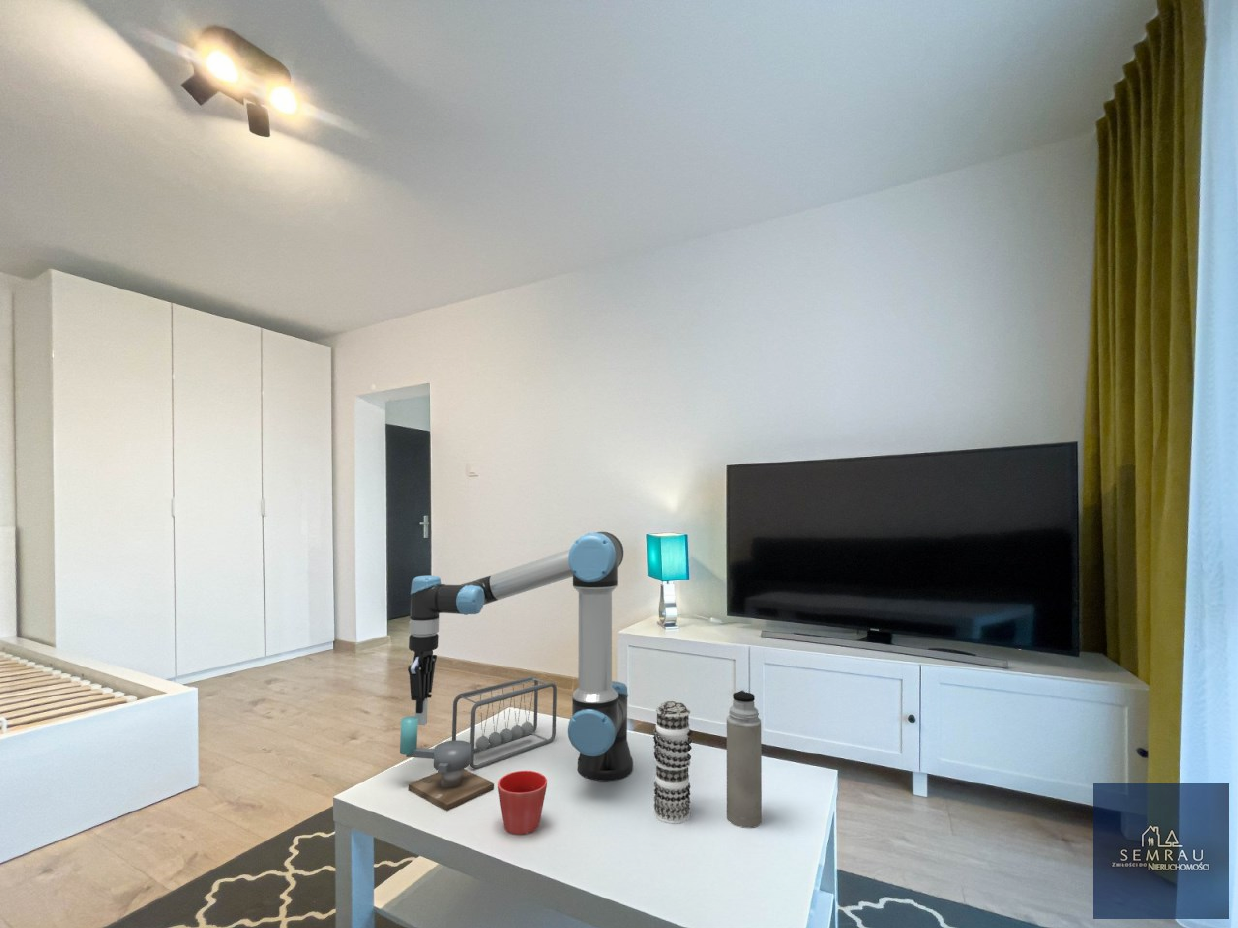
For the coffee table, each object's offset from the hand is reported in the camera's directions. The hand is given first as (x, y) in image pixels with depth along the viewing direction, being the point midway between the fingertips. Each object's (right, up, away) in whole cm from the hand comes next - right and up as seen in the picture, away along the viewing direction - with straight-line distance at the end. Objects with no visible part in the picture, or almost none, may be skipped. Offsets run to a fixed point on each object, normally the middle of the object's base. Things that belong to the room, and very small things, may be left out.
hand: (420, 723), depth 156 cm
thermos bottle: (+82, -13, -21) cm, 86 cm away
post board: (+11, -12, -9) cm, 19 cm away
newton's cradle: (+20, -15, +15) cm, 29 cm away
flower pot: (+31, -12, -25) cm, 42 cm away
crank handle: (+6, -6, -8) cm, 12 cm away
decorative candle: (+65, -13, -19) cm, 69 cm away
